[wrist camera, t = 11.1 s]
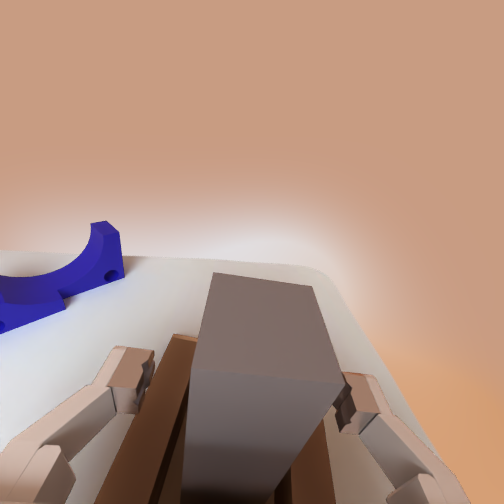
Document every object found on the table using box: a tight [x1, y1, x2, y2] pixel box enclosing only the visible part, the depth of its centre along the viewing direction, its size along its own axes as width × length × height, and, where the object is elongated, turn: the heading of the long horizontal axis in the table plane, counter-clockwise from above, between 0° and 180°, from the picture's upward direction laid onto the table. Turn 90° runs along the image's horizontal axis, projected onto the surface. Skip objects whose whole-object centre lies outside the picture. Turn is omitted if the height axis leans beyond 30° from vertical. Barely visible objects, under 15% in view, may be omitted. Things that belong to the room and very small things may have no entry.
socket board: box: [94, 334, 336, 504], centre depth 13 cm, size 12×16×4 cm
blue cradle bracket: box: [0, 221, 125, 334], centre depth 22 cm, size 12×4×6 cm, turn 139°
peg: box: [180, 272, 345, 504], centre depth 11 cm, size 4×4×12 cm
